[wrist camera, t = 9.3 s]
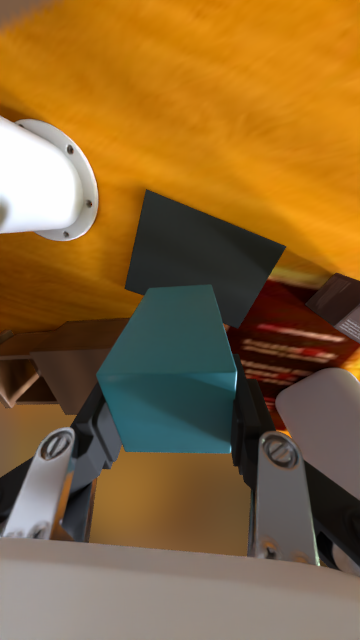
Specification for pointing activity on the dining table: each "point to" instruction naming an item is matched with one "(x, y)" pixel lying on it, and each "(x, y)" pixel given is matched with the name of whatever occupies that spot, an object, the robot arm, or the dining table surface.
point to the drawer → (22, 370)
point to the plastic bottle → (326, 423)
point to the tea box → (172, 374)
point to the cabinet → (76, 358)
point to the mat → (199, 256)
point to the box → (339, 304)
